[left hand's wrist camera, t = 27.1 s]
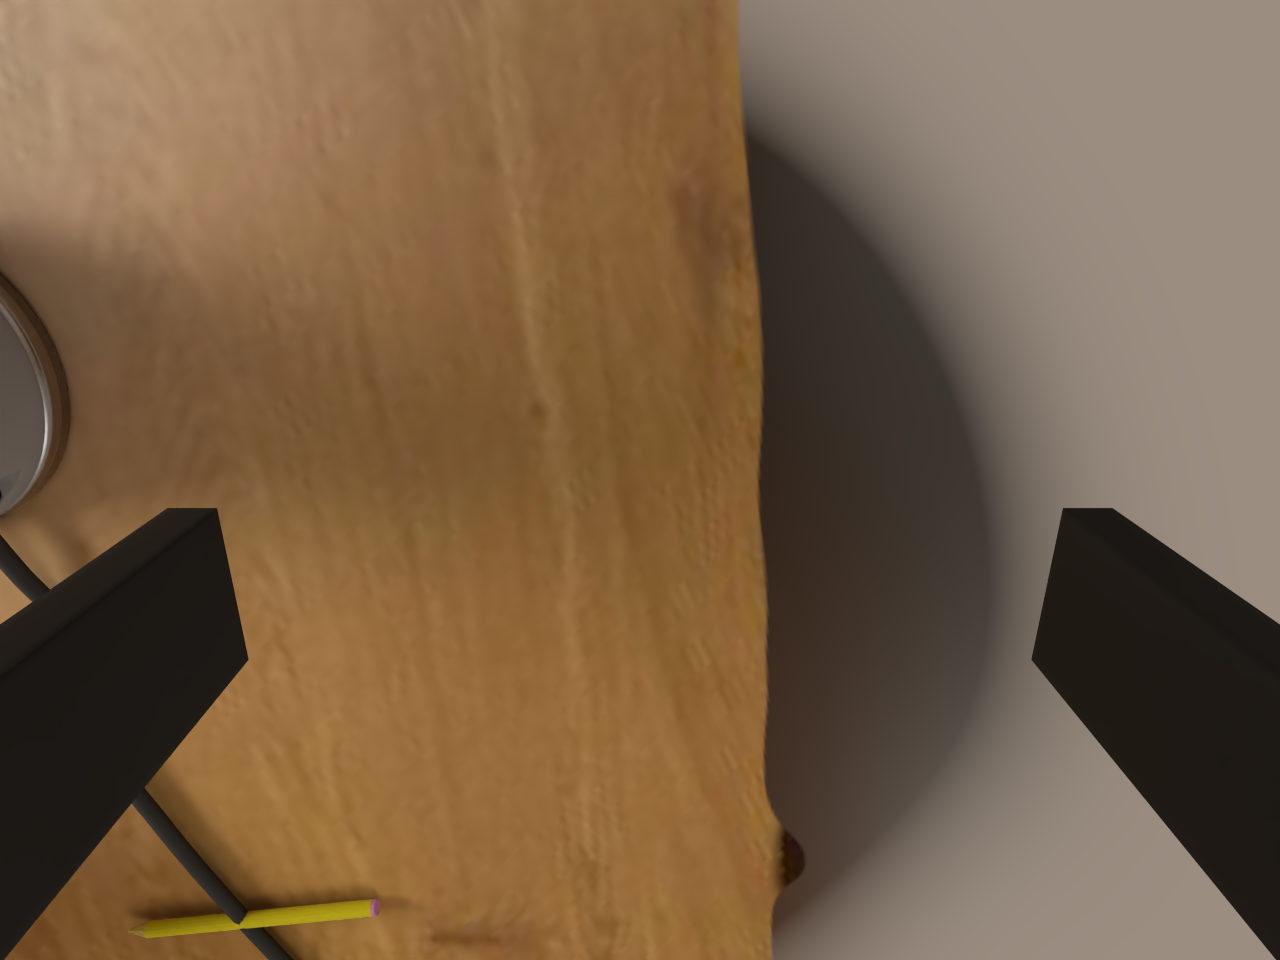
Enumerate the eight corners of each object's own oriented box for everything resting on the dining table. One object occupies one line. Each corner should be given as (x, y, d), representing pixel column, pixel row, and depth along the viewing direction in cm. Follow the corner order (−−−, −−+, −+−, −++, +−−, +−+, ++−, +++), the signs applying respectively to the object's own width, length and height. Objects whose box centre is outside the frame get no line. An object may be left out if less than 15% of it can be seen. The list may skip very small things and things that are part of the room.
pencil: (377, 894, 50) (372, 908, 49) (381, 906, 50) (376, 919, 50) (128, 919, 51) (118, 932, 50) (133, 930, 51) (124, 944, 50)
